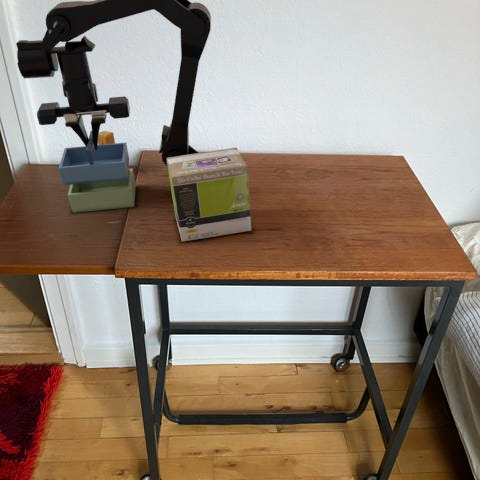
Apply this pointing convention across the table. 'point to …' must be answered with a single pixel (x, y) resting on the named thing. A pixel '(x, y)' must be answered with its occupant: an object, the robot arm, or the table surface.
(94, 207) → the sage basket
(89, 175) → the blue basket
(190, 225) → the tea box
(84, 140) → the robot arm
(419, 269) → the table surface
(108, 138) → the supplement box
